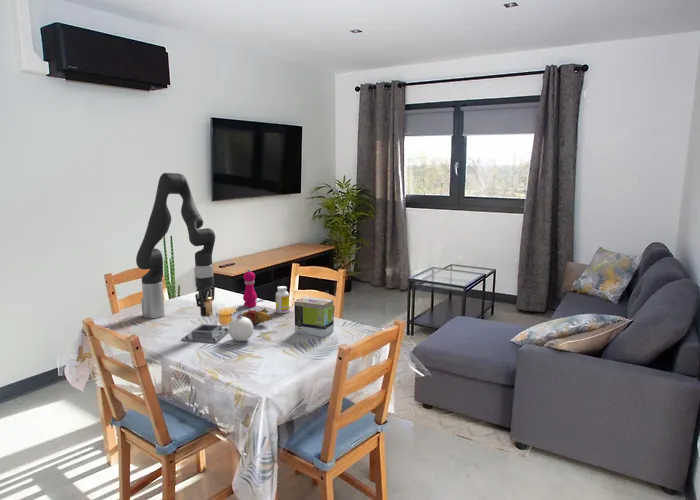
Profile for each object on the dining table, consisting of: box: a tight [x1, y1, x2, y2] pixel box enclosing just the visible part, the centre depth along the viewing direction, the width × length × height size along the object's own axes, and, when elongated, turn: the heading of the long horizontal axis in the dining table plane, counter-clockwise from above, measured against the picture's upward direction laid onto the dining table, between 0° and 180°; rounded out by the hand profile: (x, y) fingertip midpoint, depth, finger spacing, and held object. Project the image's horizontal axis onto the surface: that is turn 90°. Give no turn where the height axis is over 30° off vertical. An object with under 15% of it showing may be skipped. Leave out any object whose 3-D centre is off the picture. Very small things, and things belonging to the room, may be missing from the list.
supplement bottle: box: [275, 285, 290, 314], centre depth 250 cm, size 7×7×13 cm
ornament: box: [228, 313, 254, 342], centre depth 210 cm, size 10×10×12 cm
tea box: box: [293, 296, 335, 338], centre depth 221 cm, size 15×10×15 cm
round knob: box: [199, 296, 214, 318], centre depth 215 cm, size 6×6×8 cm
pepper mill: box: [242, 268, 258, 308], centre depth 259 cm, size 7×7×20 cm
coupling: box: [180, 323, 229, 344], centre depth 217 cm, size 16×16×3 cm
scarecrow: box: [239, 308, 273, 325], centre depth 233 cm, size 17×16×8 cm
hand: (206, 313), depth 215 cm, fingers closed on round knob, 5 cm apart
